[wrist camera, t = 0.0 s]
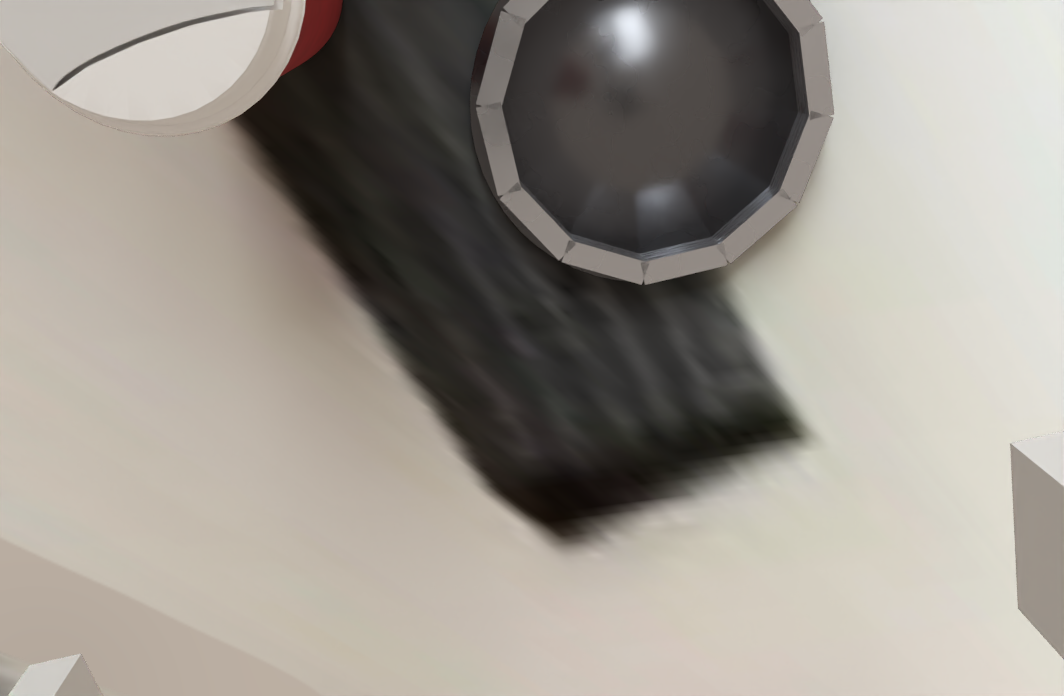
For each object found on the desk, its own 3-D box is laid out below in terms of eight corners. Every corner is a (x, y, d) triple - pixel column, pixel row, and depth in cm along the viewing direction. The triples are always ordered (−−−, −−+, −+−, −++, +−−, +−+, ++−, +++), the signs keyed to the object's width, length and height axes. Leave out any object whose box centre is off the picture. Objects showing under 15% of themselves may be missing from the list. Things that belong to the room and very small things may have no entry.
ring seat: (428, -39, 35) (424, -42, 33) (801, -134, 34) (819, -143, 33) (517, 312, 40) (518, 326, 38) (842, 234, 40) (860, 245, 38)
